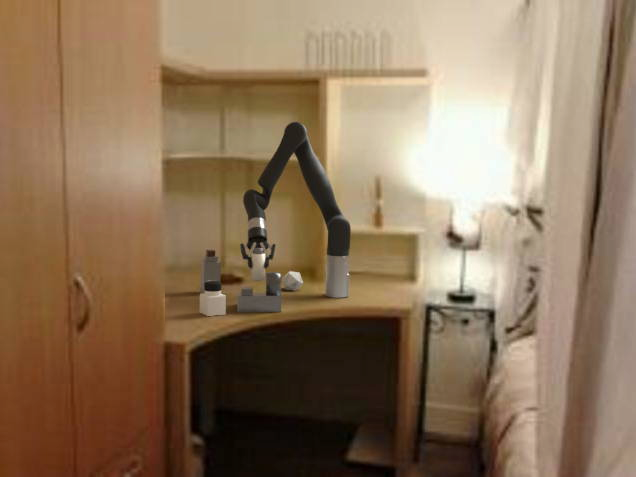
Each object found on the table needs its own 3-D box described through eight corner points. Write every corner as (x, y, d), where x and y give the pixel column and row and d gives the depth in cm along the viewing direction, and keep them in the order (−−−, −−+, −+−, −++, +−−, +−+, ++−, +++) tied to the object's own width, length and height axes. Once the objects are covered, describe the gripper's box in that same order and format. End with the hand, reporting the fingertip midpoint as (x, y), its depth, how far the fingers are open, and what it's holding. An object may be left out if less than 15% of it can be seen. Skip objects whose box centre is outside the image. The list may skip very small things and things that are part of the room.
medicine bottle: (226, 314, 233) (226, 281, 232) (207, 317, 229) (208, 283, 228) (217, 310, 239) (217, 278, 238) (199, 312, 235) (199, 280, 234)
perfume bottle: (200, 292, 271) (200, 249, 269) (216, 291, 274) (216, 249, 272) (203, 295, 265) (204, 251, 263) (220, 294, 267) (220, 251, 265)
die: (287, 294, 276) (301, 276, 275) (274, 281, 280) (288, 264, 280) (296, 297, 283) (310, 280, 282) (283, 285, 287) (297, 268, 287)
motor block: (277, 304, 253) (278, 268, 251) (281, 311, 240) (282, 274, 238) (236, 304, 250) (236, 268, 249) (237, 312, 238) (238, 274, 236)
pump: (264, 278, 250) (265, 247, 249) (265, 281, 245) (266, 249, 244) (250, 278, 250) (251, 247, 248) (251, 281, 244) (252, 249, 243)
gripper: (239, 225, 251) (239, 261, 241) (276, 226, 254) (278, 261, 243) (238, 237, 257) (239, 272, 247) (274, 238, 259) (276, 273, 249)
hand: (258, 267), depth 245 cm, fingers closed on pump, 5 cm apart
